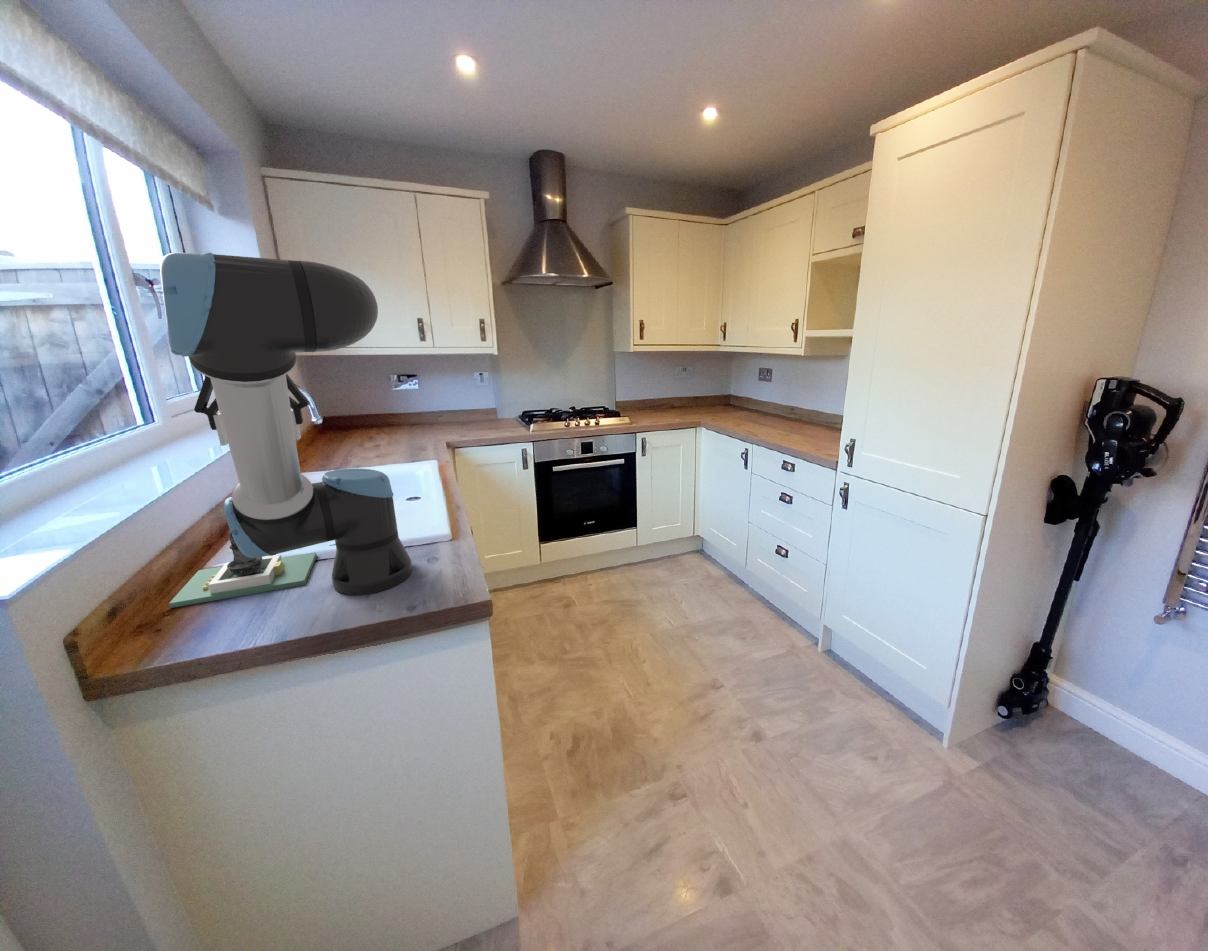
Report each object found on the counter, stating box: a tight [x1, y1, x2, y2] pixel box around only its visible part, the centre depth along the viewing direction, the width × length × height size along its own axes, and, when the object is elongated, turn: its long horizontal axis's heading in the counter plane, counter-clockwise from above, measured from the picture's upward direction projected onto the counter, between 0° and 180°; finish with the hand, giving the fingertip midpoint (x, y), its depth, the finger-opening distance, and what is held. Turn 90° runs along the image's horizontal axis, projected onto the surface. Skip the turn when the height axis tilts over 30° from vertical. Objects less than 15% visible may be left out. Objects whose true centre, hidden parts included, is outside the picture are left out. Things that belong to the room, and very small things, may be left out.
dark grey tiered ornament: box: [227, 529, 264, 578], centre depth 95 cm, size 6×6×12 cm
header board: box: [168, 551, 318, 609], centre depth 97 cm, size 22×14×3 cm, turn 112°
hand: (262, 441), depth 103 cm, fingers open, 13 cm apart
